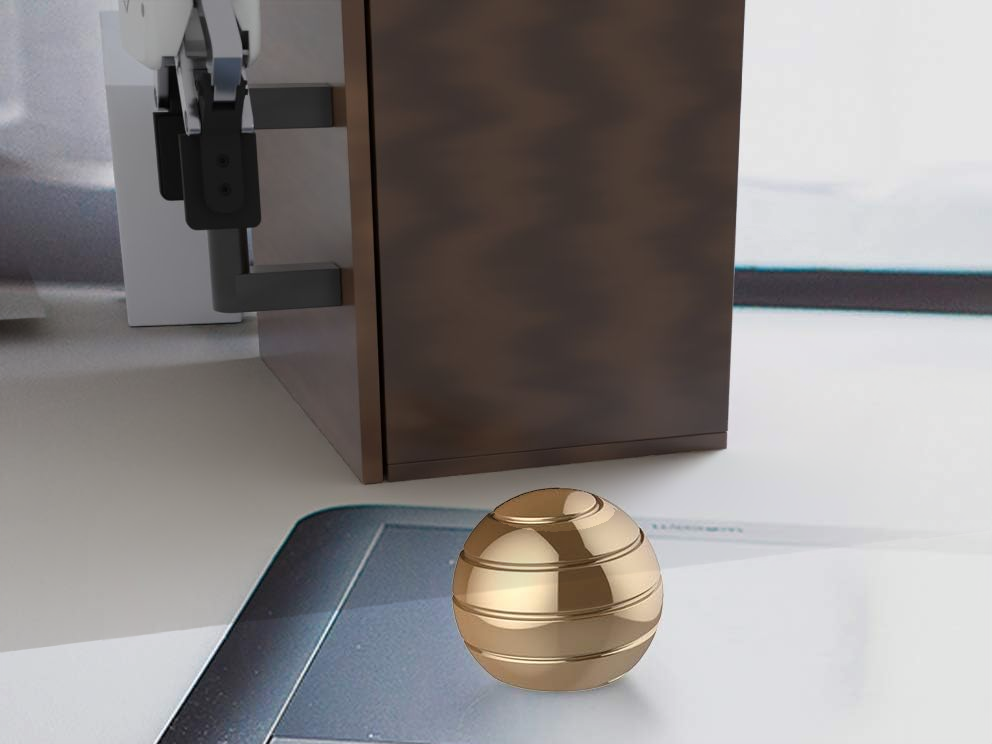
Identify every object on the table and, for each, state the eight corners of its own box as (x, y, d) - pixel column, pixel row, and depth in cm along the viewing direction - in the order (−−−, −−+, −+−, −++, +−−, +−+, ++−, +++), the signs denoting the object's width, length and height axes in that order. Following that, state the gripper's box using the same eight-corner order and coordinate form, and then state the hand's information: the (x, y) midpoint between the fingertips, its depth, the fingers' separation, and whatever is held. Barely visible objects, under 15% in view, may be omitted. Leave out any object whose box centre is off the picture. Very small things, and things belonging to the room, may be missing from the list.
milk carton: (242, 324, 114) (220, 15, 106) (128, 329, 112) (98, 14, 105) (236, 301, 120) (215, 7, 113) (128, 305, 118) (99, 6, 111)
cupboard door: (239, 496, 82) (198, -47, 73) (159, 363, 104) (120, -68, 95) (383, 482, 85) (362, -46, 75) (276, 354, 106) (249, -66, 97)
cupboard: (388, 484, 85) (367, -49, 75) (280, 356, 107) (253, -69, 97) (727, 450, 91) (748, -46, 82) (559, 336, 113) (560, -65, 103)
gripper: (61, -216, 79) (102, 186, 86) (107, -234, 64) (151, 253, 71) (230, -209, 82) (255, 180, 89) (310, -225, 67) (333, 243, 74)
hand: (208, 209), depth 80 cm, fingers open, 7 cm apart
